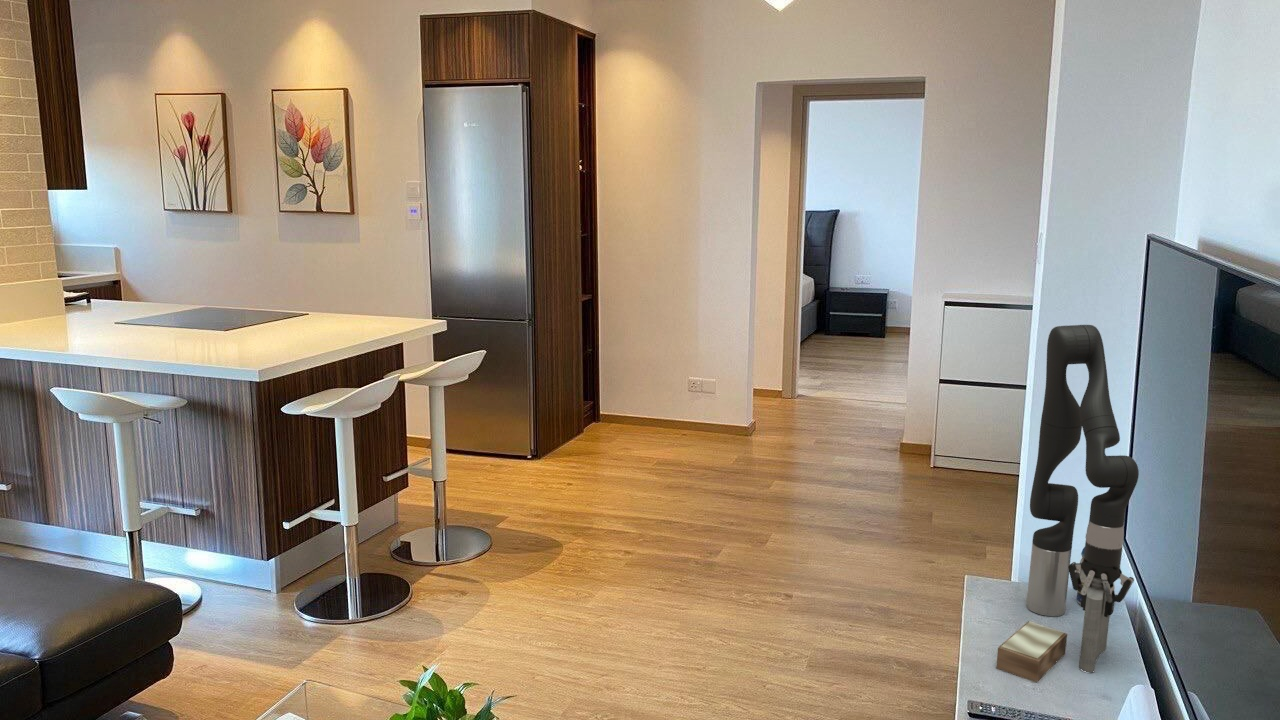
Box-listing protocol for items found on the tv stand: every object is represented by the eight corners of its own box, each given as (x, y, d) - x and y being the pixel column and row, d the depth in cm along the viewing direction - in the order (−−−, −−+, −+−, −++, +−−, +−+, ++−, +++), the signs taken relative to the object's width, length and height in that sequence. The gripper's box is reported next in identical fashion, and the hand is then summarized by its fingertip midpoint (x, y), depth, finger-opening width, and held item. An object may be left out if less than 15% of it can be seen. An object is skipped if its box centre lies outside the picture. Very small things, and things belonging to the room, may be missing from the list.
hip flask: (1092, 674, 213) (1102, 590, 209) (1073, 669, 215) (1082, 585, 212) (1107, 647, 226) (1116, 567, 222) (1088, 642, 228) (1097, 563, 224)
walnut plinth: (1026, 640, 228) (1028, 620, 227) (1065, 653, 222) (1067, 632, 222) (996, 668, 215) (998, 646, 214) (1036, 682, 209) (1039, 660, 208)
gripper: (1143, 545, 213) (1134, 617, 217) (1076, 529, 223) (1069, 598, 226) (1133, 554, 208) (1124, 628, 211) (1065, 537, 217) (1058, 608, 220)
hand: (1096, 612), depth 219 cm, fingers closed on hip flask, 4 cm apart
